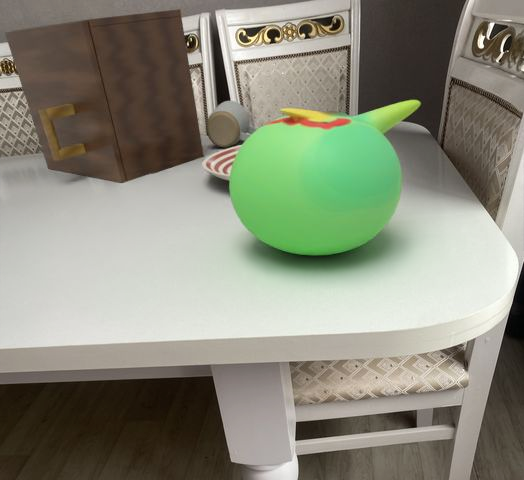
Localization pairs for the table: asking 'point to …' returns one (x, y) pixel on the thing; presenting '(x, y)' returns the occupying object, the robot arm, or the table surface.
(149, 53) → the cupboard
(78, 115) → the cupboard door
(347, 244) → the toy bird
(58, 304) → the table surface
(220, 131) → the ceramic mug
